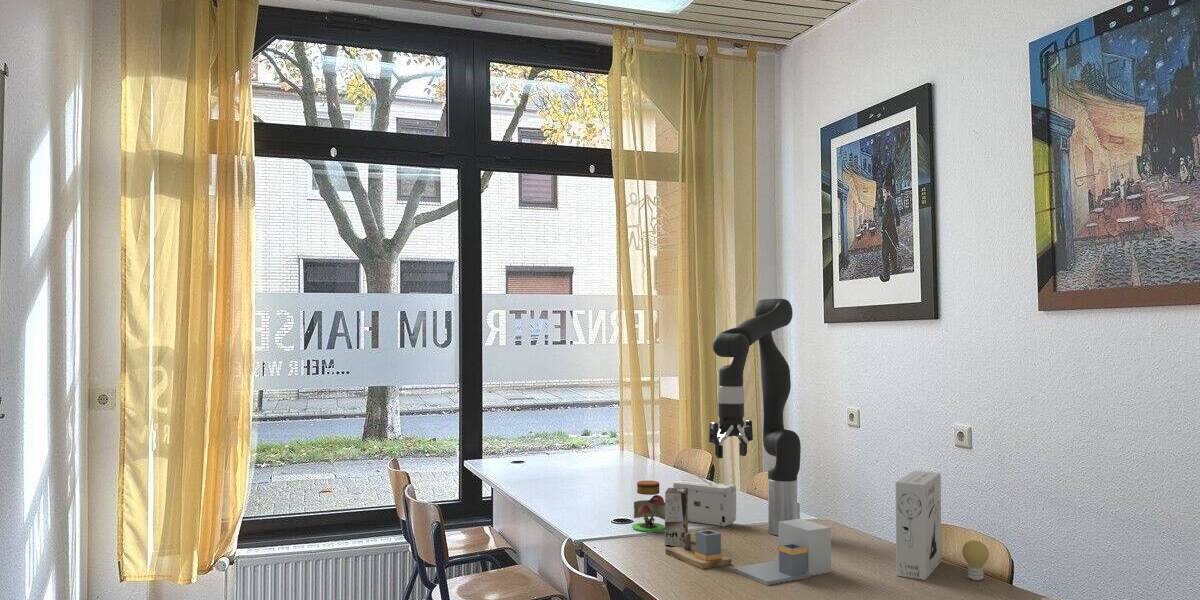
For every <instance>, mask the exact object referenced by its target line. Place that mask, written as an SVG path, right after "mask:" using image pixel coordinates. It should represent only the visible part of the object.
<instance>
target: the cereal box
mask: <svg viewBox="0 0 1200 600" xmlns="http://www.w3.org/2000/svg"><path fill="white" fill-rule="evenodd" d="M941 481H942V476H941V473H940V472H934V471H933V472H931V471H923V470H913V471H911V472H910V473H907V474H906V475H905V476H903V477H902V478H899V479H898V480H897V481H895V556H896V557H895V570H896V571H895V574H896V576H897V577H900V576H902V578H907V577H908V579H914V578H915V579H914V580H920V579H921V581H926V580H927V578H929V576H930V575H931V574H932V573H933V572H934V570H935V569H936V568H937V567H938V566H939V565H940V563H941V562H942V493H941V491H942V484H941V483H942V482H941Z"/></svg>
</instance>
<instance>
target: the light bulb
mask: <svg viewBox="0 0 1200 600" xmlns="http://www.w3.org/2000/svg"><path fill="white" fill-rule="evenodd" d="M961 552H962V556H963V558H964V560H965V562H966V563H967V564H968V566H967V573H968V574H967V577H968V579H970V580H973V581H982V580H983V579H984V567H983V566H984V565H985V564H986V563H987V561H988V559H989V556H990V552H989V549H988V547H987V546H986V544H985V543H983V542H981V541H979V540H968V541H966V542H965V543H964V544H963V546H962V549H961Z"/></svg>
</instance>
